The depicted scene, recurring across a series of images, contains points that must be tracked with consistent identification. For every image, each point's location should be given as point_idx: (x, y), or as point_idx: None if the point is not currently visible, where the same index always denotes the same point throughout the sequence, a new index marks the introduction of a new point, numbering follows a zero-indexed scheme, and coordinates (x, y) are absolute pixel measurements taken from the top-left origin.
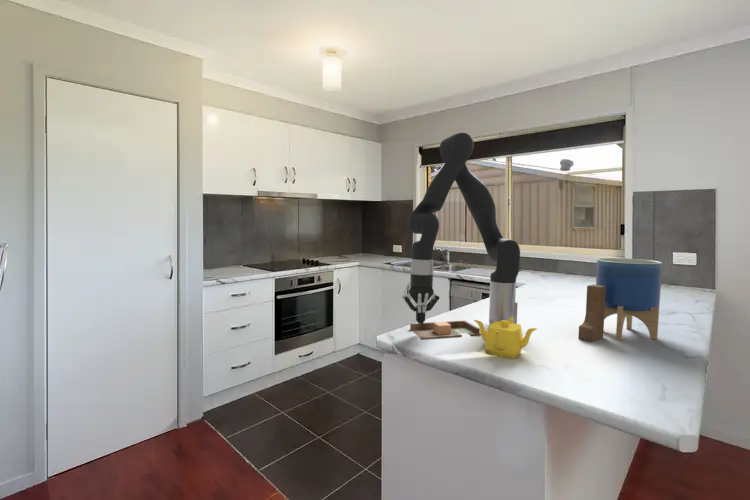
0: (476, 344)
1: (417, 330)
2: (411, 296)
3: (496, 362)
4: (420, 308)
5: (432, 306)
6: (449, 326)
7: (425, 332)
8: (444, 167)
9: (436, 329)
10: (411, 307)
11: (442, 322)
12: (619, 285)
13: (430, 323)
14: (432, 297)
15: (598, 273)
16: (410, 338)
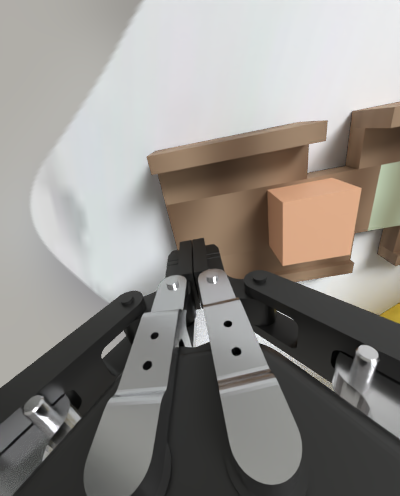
0: (364, 290)
1: (188, 182)
2: (72, 440)
3: (327, 382)
4: (191, 339)
5: (295, 334)
6: (337, 252)
7: (221, 215)
8: None
9: (273, 232)
10: (116, 360)
11: (333, 205)
12: None
13: (275, 149)
14: (350, 402)
15: None
16: (153, 229)
